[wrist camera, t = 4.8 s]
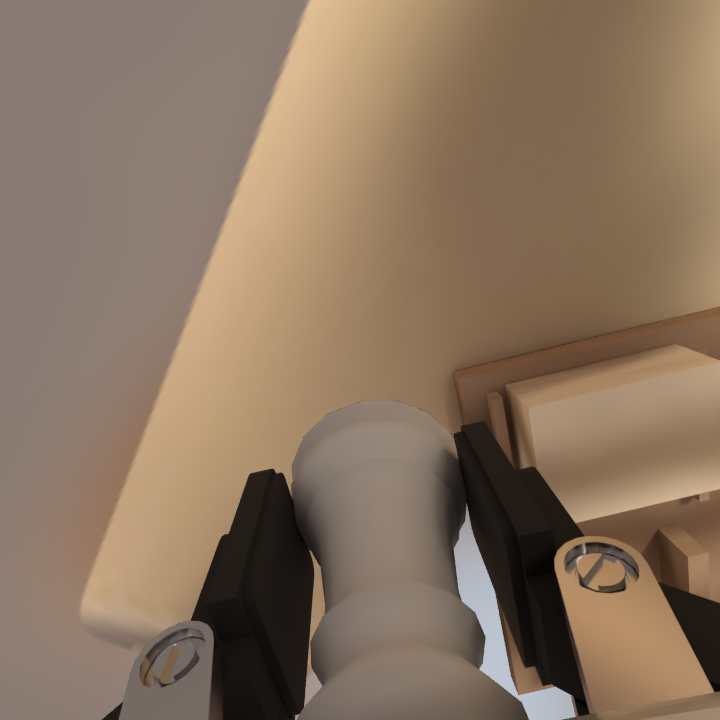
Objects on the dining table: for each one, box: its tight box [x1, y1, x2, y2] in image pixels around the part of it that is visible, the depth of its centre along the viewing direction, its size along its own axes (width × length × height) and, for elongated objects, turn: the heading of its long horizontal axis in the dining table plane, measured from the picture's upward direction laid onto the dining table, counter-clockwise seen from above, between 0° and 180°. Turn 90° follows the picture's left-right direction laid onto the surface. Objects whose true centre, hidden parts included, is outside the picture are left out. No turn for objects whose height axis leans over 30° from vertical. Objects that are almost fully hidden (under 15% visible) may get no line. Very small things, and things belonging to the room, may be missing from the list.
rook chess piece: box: [291, 401, 529, 720], centre depth 9 cm, size 4×4×8 cm
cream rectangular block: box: [505, 344, 720, 523], centre depth 22 cm, size 6×8×3 cm
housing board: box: [453, 307, 720, 695], centre depth 24 cm, size 20×14×3 cm
